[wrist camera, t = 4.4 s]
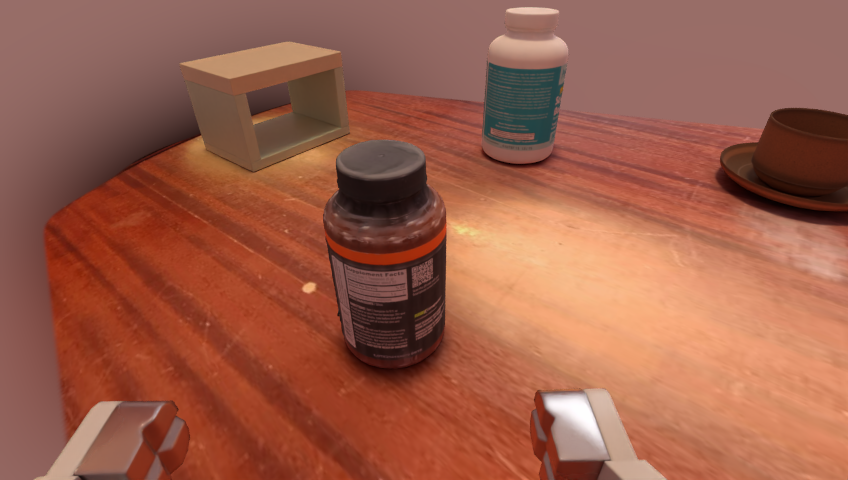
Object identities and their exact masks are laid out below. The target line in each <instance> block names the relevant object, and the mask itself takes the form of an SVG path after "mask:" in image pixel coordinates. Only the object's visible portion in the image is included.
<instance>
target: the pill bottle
mask: <svg viewBox="0 0 848 480" xmlns="http://www.w3.org/2000/svg"><path fill="white" fill-rule="evenodd" d="M558 19H559V11H558V10H555V9H549V8H535V7H526V8H525V7H523V8H512V9H508V10H507V11H506V16H505V25H506V28H507V32H506V34H505V35H502V36H500V37H498V38H496V39H495V40H494V41H493V42H492V43H491V45H490V47H489V49H488V57H487V72H486V86H485V87H486V88H485V102H484V116H483V130H482V148H483V150H484V152H485V153H486V154H487V155H489V156H490V157H492V158H494V159H496V160H499V161H502V162H507V163H514V164H527V163H535V162H538V161H541V160H543V159H545V158H547V157H548V156H549V155H550V154H551V152H552V150H553V145H554V139H555V133H556V127H557V121H558V115H559V109H560V102H561V97H562V91H563V84H564V78H565V73H566V67H567V61H568V54H569V52H568V47H567V45H566V43H565V42H564V41H563V40H562V39H560V38H558V37H556V36H555V35H554V30H555V29H556V26H557V25H558Z"/></svg>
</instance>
